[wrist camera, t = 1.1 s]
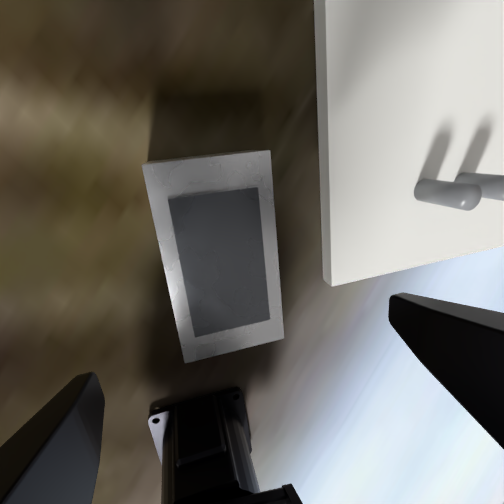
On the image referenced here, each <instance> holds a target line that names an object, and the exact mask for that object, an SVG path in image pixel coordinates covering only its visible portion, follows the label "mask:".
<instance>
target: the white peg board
mask: <svg viewBox="0 0 504 504" xmlns="http://www.w3.org/2000/svg"><path fill="white" fill-rule="evenodd" d="M314 21H315V51H316V81H317V111H318V141H319V171H320V201H321V231H322V261H323V280H324V281H326V282H327V283H328V284H329V285H330V286H337V285H341V284H345V283H349V282H354V281H358V280H362V279H366V278H371V277H375V276H379V275H383V274H388V273H392V272H396V271H400V270H404V269H409V268H413V267H417V266H421V265H426V264H430V263H434V262H438V261H443V260H447V259H451V258H455V257H460V256H464V255H468V254H472V253H476V252H481V251H485V250H489V249H493V248H498V247H502V246H504V0H314Z"/></svg>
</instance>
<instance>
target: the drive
mask: <svg viewBox="0 0 504 504" xmlns="http://www.w3.org/2000/svg"><path fill="white" fill-rule="evenodd" d="M142 169H143V173H144V178H145V183H146V187H147V192H148V196H149V201H150V206H151V210H152V215H153V219H154V224H155V229H156V233H157V238H158V242H159V247H160V252H161V256H162V261H163V265H164V270H165V275H166V279H167V284H168V288H169V293H170V298H171V302H172V307H173V311H174V316H175V321H176V325H177V330H178V334H179V339H180V344H181V348H182V353H183V357H184V362H185V363H189V362H193V361H197V360H201V359H205V358H209V357H213V356H217V355H221V354H224V353H228V352H232V351H236V350H240V349H244V348H248V347H252V346H256V345H260V344H264V343H268V342H272V341H276V340H280V339H284V329H283V315H282V302H281V288H280V275H279V262H278V248H277V235H276V221H275V208H274V195H273V181H272V168H271V154H270V150H246V151H237V152H228V153H219V154H210V155H201V156H192V157H183V158H174V159H165V160H157V161H148V162H146V163H144V164H142Z"/></svg>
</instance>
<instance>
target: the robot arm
mask: <svg viewBox="0 0 504 504" xmlns="http://www.w3.org/2000/svg"><path fill="white" fill-rule="evenodd" d="M388 317H389V322H390V324H391V325H392V327H393V328H394V329H395V330H396V332H397V333H398V334H399V336H400V337H401V338H402V339H403V341H404V342H405V343H406V344H407V346H408V347H409V348H410V349H411V351H412V352H413V353H414V354H415V356H416V357H417V358H418V359H419V361H420V362H421V363H422V364H423V365H424V366H425V367H426V368H427V369H428V370H429V372H430V373H431V374H432V375H433V376H434V377H435V378H436V379H437V380H438V381H439V382H440V383H441V384H442V385H443V386H444V387H445V388H446V389H447V390H448V391H449V392H450V394H451V395H452V396H453V397H454V398H455V399H456V400H457V401H458V402H459V403H460V404H461V405H462V406H463V407H464V408H465V409H466V410H467V411H468V412H469V413H470V414H471V416H472V417H473V418H474V419H475V420H476V421H477V422H478V423H479V424H480V425H481V426H482V427H483V428H484V429H485V430H486V431H487V432H488V433H489V434H490V435H491V437H492V438H493V439H494V440H495V441H496V442H497V443H498V444H499V445H500V446H501V447H502V448H503V449H504V313H501V312H496V311H492V310H487V309H482V308H477V307H472V306H467V305H462V304H457V303H452V302H447V301H442V300H437V299H433V298H428V297H423V296H418V295H413V294H408V293H398V294H395V295H392V296H391V297H390V299H389V316H388ZM235 394H237V395H236V396H234V395H235ZM104 407H105V399H104V394H103V392H102V389H101V386H100V383H99V381H98V378H97V375H96V374H95V373H94V372H88V373H84V374H80V375H77V376H76V377H75V378H73V379H72V380H71V381H70V382H69V383H68V384H67V385H66V386H65V387H64V388H63V389H62V390H61V391H60V392H59V393H57V394H56V395H55V396H54V397H53V398H52V399H51V400H50V401H49V402H48V403H47V404H46V405H45V406H44V407H43V408H42V409H40V410H39V411H38V412H37V413H36V414H35V415H34V416H33V417H32V418H31V419H30V420H29V421H28V422H27V423H26V424H24V425H23V426H22V427H21V428H20V429H19V430H18V431H17V432H16V433H15V434H14V435H13V436H12V437H11V438H10V439H8V440H7V441H6V442H5V443H4V444H3V445H2V446H1V447H0V504H91V503H92V498H93V493H94V488H95V483H96V478H97V473H98V468H99V461H100V452H101V441H102V430H103V418H104ZM154 418H157V419H154ZM148 424H149V427H150V430H151V433H152V436H153V440H154V443H155V446H156V449H157V452H158V455H159V459H160V462H161V465H162V493H161V504H303V503H302V501H301V500H300V498H299V496H298V494H297V493H296V491H295V489H294V487H293V486H292V484H287V485H282V488H277V489H273V490H268V491H264V492H260V489H259V485H258V482H257V478H256V474H255V470H254V467H253V463H252V459H251V456H250V453H251V452H252V448H251V442H250V436H249V429H248V423H247V417H246V411H245V404H244V398H243V393H242V390H241V389H240V388H239V387H234V388H230V389H227V390H223V391H220V392H216V393H213V394H209V395H206V396H202V397H199V398H196V399H192V400H189V401H185V402H182V403H178V404H175V405H171V406H168V407H164V408H161V409H158V410H154V411H152V412H151V413H150V414H149V417H148Z"/></svg>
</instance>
